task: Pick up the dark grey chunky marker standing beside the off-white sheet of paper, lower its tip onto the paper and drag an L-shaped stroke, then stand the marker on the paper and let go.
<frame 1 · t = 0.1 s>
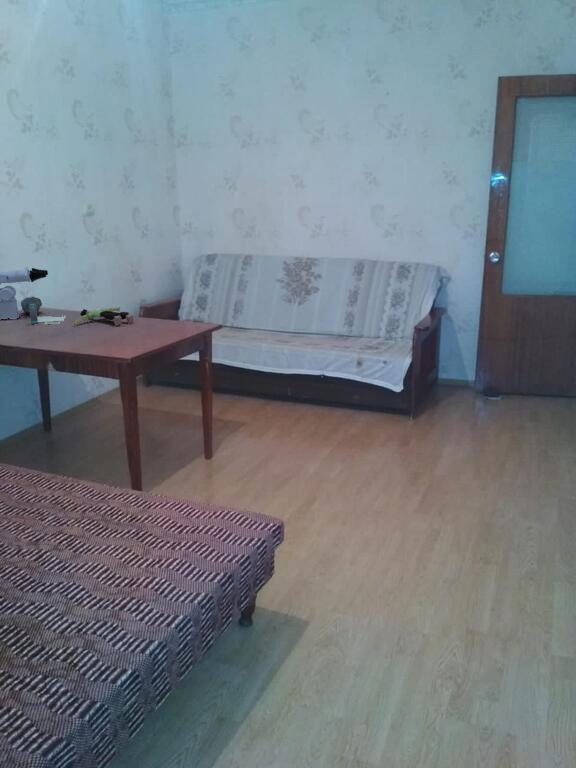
hand: (46, 273, 307), 22 cm above the table, tool horizontal, fingers open, 7 cm apart
paper: (50, 319, 307), on the table
rock: (32, 314, 321), on the table
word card: (52, 323, 298), on the table
toy: (104, 322, 303), on the table
marker: (34, 324, 297), on the table
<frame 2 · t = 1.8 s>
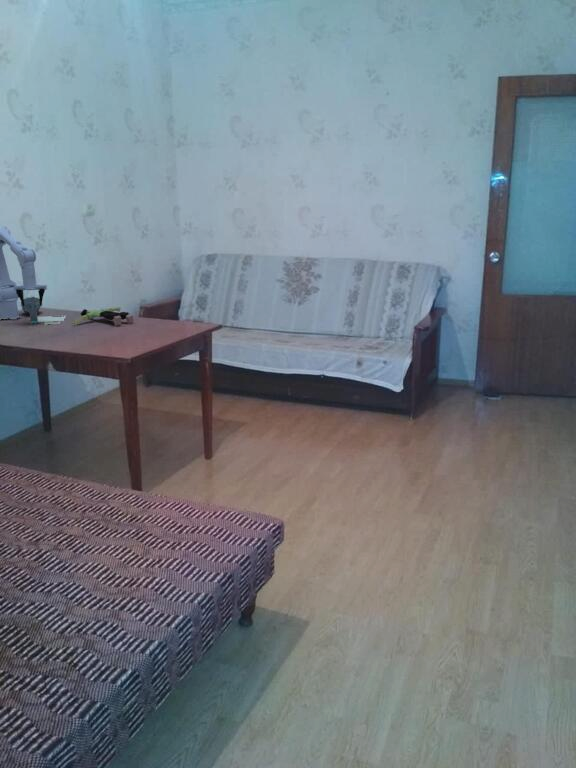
hand: (32, 305, 294), 9 cm above the table, tool pointing down, fingers open, 7 cm apart
nothing on the table moved.
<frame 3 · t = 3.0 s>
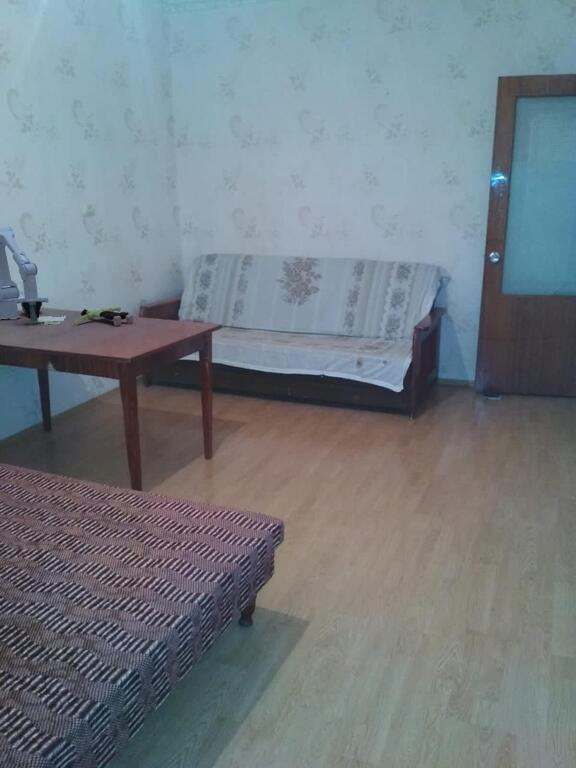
hand: (33, 318, 296), 3 cm above the table, tool pointing down, fingers closed on marker, 3 cm apart
marker: (34, 324, 297), on the table, touching gripper
everything else where it was.
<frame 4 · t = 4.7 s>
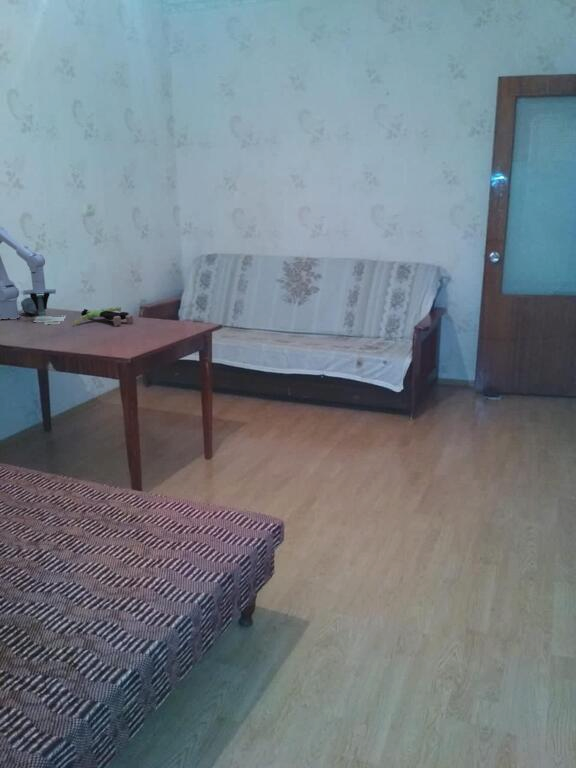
hand: (41, 309, 302), 6 cm above the table, tool pointing down, fingers closed on marker, 3 cm apart
marker: (42, 314, 303), point 3 cm above the table, touching gripper
everything else where it was.
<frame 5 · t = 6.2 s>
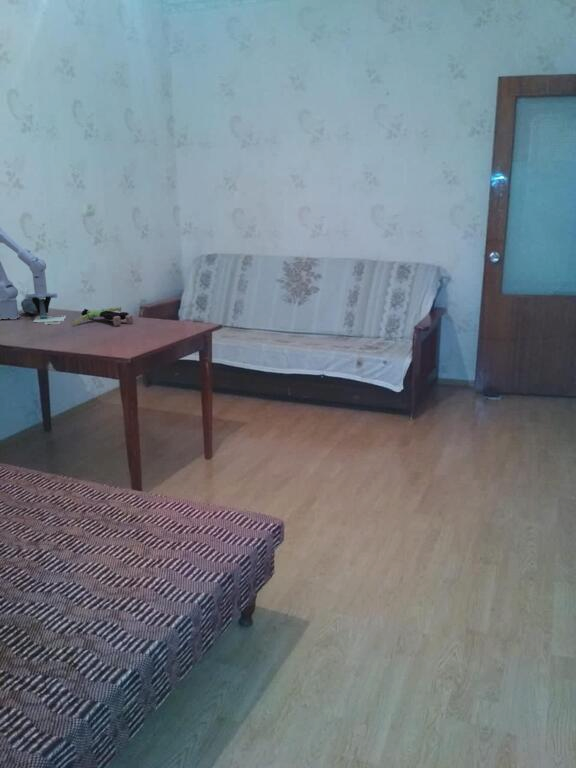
hand: (43, 312, 307), 3 cm above the table, tool pointing down, fingers closed on marker, 3 cm apart
marker: (43, 318, 308), resting on paper, touching gripper
everything else where it was.
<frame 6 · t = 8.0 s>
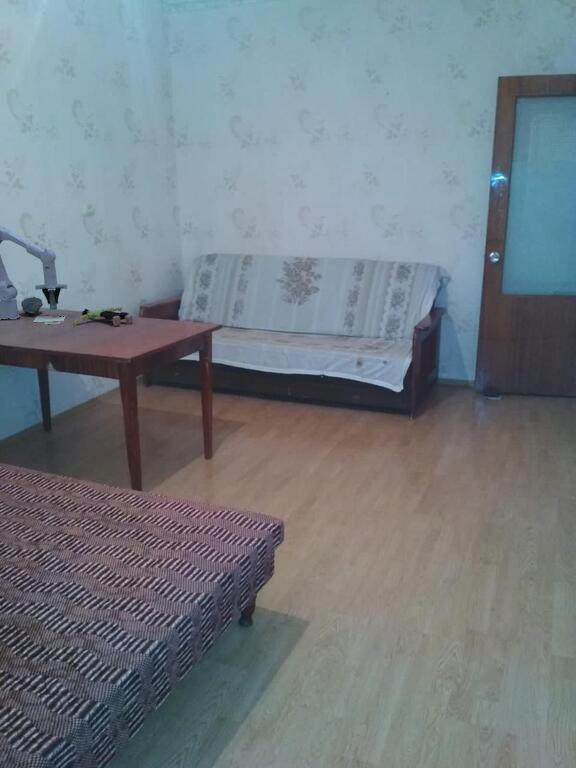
hand: (53, 303, 307), 7 cm above the table, tool pointing down, fingers closed on marker, 3 cm apart
marker: (53, 309, 308), point 5 cm above the table, touching gripper
everything else where it was.
when the fingers open (4 cm above the table, at t = 9.4 s): marker stays where it is, resting on paper.
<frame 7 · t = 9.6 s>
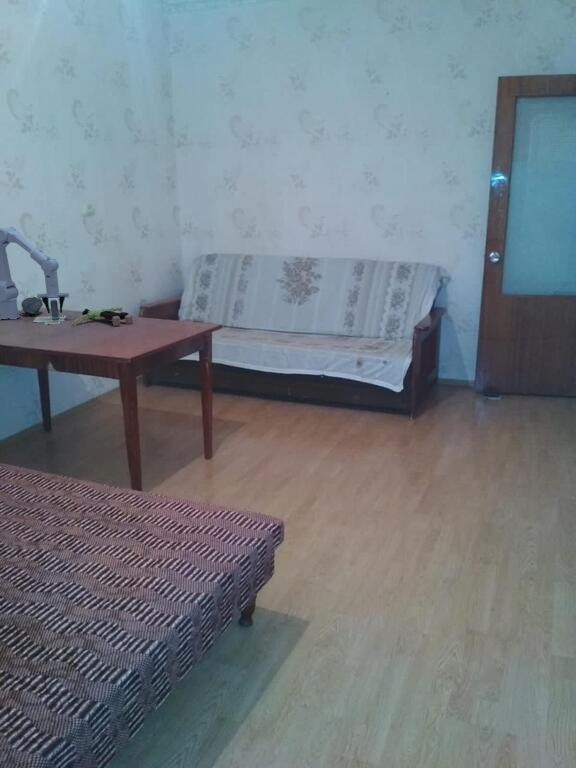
hand: (55, 312, 304), 4 cm above the table, tool pointing down, fingers open, 5 cm apart
marker: (55, 319, 305), resting on paper
everything else where it was.
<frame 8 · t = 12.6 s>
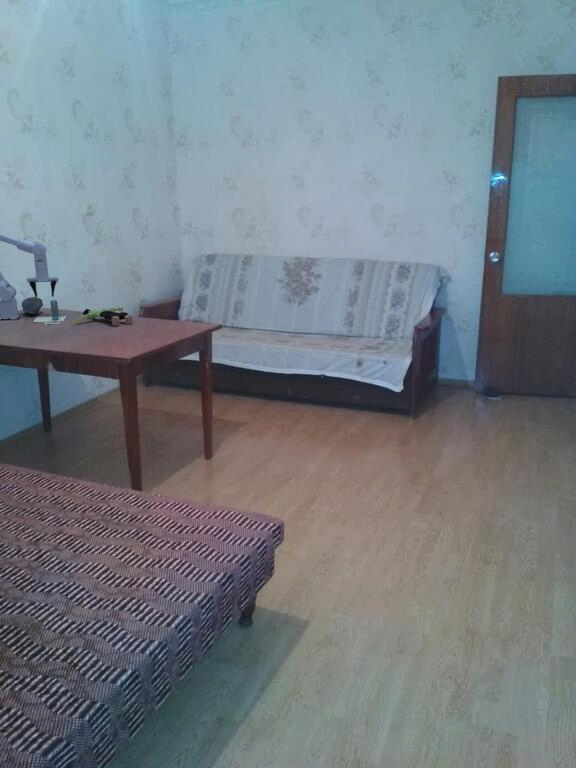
hand: (44, 296, 309), 10 cm above the table, tool pointing down, fingers open, 7 cm apart
nothing on the table moved.
at the end: marker inside the target area on the paper (4.5 cm from its centre), point 0.3 cm above the paper's base; marker tilted 0°; the gripper is holding nothing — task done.
